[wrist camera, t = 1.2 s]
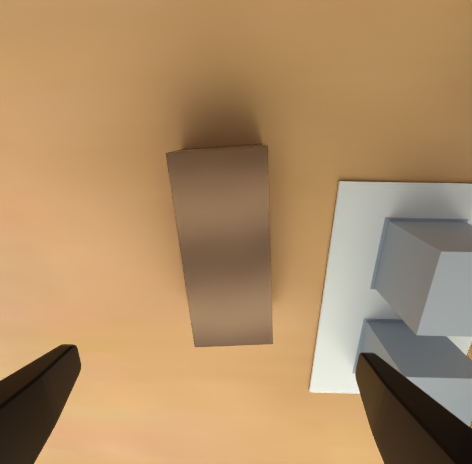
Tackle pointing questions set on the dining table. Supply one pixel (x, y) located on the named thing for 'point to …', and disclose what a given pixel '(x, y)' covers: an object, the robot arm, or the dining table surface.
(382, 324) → the pillar
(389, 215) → the white flat rectangular plate
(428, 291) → the tilted pale grey prism
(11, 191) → the dining table surface
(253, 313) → the lintel
